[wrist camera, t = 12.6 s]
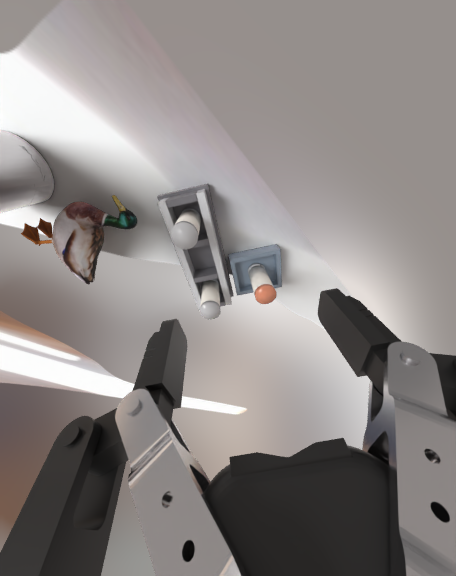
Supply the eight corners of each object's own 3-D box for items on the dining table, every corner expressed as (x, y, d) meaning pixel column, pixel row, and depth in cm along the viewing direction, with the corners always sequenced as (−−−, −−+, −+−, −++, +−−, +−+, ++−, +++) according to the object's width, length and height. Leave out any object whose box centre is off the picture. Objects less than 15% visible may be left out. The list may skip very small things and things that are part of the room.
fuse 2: (204, 292, 42) (203, 320, 35) (200, 278, 40) (197, 306, 33) (220, 288, 42) (222, 317, 34) (217, 275, 40) (217, 302, 32)
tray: (236, 288, 43) (237, 295, 41) (228, 254, 38) (229, 260, 36) (278, 280, 43) (281, 286, 41) (276, 244, 38) (280, 249, 36)
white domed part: (184, 231, 34) (176, 251, 27) (177, 210, 32) (166, 226, 25) (203, 226, 34) (200, 246, 26) (197, 205, 32) (193, 220, 24)
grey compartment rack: (198, 300, 45) (196, 312, 41) (158, 195, 31) (151, 200, 28) (233, 293, 44) (234, 305, 40) (207, 183, 31) (207, 187, 27)
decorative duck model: (123, 198, 26) (147, 290, 34) (136, 192, 32) (154, 270, 40) (-4, 200, 24) (55, 297, 32) (37, 193, 30) (77, 276, 38)
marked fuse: (248, 278, 41) (256, 305, 34) (246, 264, 39) (254, 289, 31) (265, 275, 41) (276, 301, 33) (263, 260, 39) (275, 285, 31)
